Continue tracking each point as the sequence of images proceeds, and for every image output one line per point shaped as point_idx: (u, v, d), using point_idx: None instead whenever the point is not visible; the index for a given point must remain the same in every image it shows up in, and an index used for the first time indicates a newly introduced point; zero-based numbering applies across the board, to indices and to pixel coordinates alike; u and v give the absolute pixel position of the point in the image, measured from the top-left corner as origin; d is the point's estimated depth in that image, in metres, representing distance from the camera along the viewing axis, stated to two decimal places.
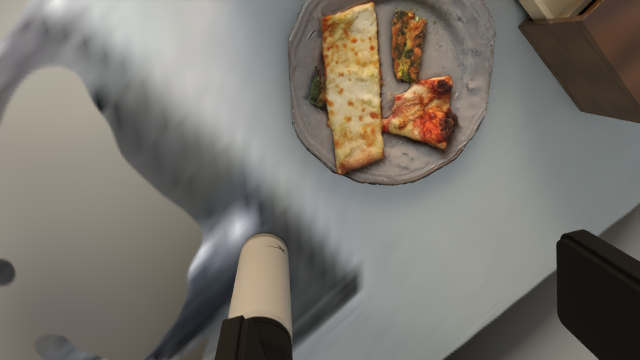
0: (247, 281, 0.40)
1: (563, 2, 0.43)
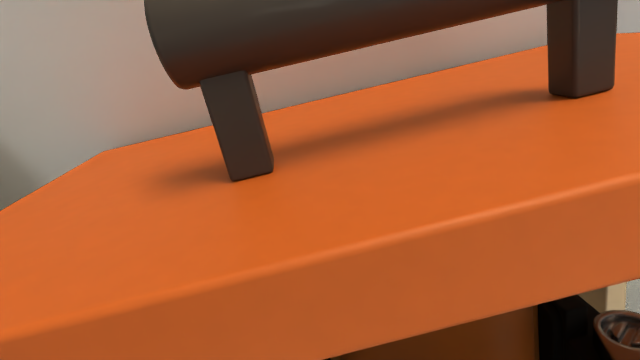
0: None
1: None
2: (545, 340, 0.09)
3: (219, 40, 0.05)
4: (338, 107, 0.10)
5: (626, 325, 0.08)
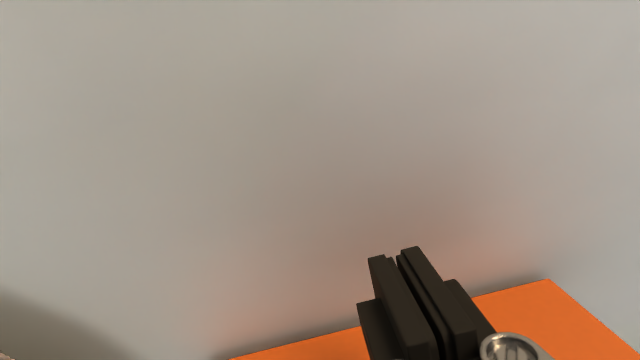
0: None
1: None
2: None
3: None
4: None
5: (506, 348, 0.08)
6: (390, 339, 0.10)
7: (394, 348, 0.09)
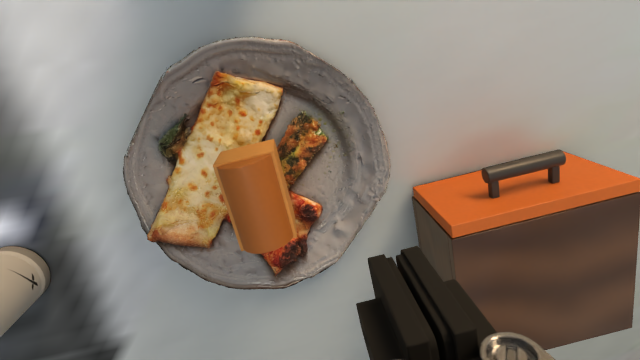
0: None
1: None
2: None
3: (498, 177, 0.33)
4: None
5: (506, 348, 0.08)
6: (390, 339, 0.10)
7: (394, 348, 0.09)
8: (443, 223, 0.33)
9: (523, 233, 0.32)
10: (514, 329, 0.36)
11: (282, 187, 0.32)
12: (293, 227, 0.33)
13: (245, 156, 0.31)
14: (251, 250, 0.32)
